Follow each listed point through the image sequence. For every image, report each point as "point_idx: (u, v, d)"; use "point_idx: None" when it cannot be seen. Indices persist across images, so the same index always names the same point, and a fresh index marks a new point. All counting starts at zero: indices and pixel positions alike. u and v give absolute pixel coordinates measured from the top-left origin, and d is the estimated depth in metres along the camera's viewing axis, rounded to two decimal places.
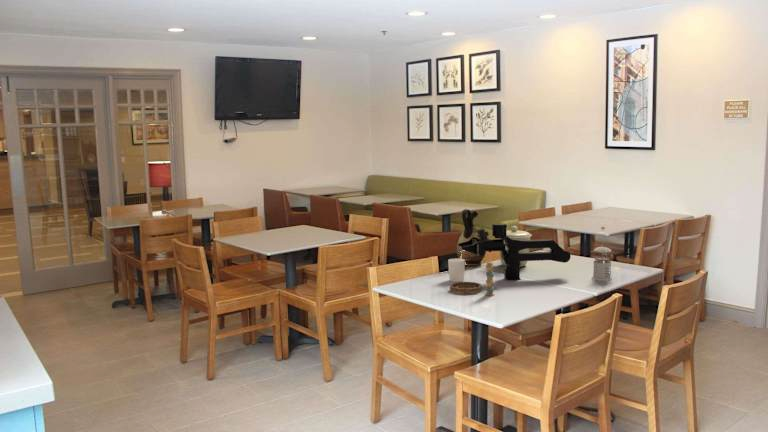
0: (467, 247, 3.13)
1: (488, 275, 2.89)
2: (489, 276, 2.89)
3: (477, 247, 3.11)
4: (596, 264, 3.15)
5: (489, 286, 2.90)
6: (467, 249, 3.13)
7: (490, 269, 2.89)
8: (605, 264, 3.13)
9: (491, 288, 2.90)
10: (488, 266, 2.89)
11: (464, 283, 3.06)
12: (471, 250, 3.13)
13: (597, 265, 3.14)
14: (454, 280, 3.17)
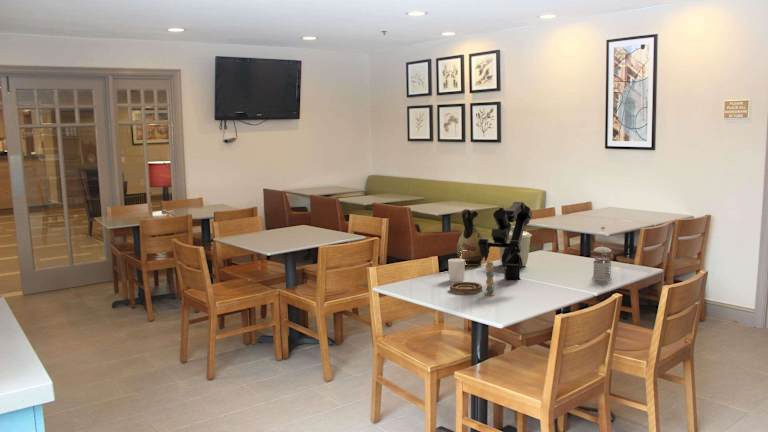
0: (508, 256, 2.96)
1: (488, 275, 2.89)
2: (489, 276, 2.89)
3: (515, 248, 2.97)
4: (596, 264, 3.15)
5: (489, 286, 2.90)
6: (509, 257, 2.96)
7: (490, 269, 2.89)
8: (605, 264, 3.13)
9: (491, 288, 2.90)
10: (488, 266, 2.89)
11: (464, 283, 3.06)
12: (511, 255, 2.97)
13: (597, 265, 3.14)
14: (454, 280, 3.17)
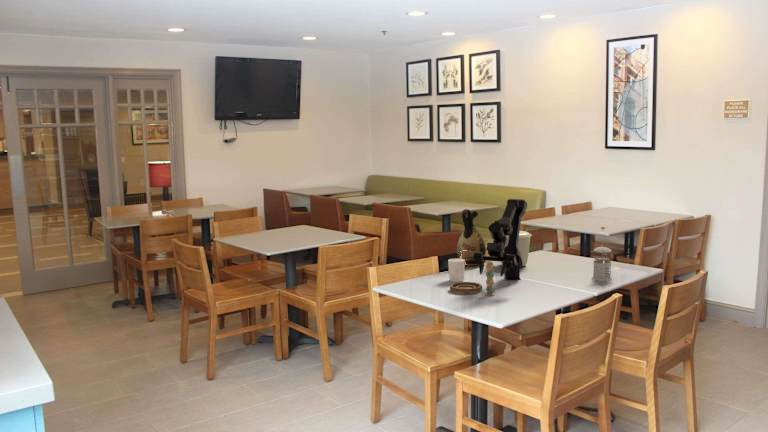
0: (504, 270, 2.90)
1: (488, 275, 2.89)
2: (489, 276, 2.89)
3: (511, 262, 2.91)
4: (596, 264, 3.15)
5: (489, 286, 2.90)
6: (504, 271, 2.91)
7: (490, 269, 2.89)
8: (605, 264, 3.13)
9: (491, 288, 2.90)
10: (488, 266, 2.89)
11: (464, 283, 3.06)
12: (506, 269, 2.92)
13: (597, 265, 3.14)
14: (454, 280, 3.17)
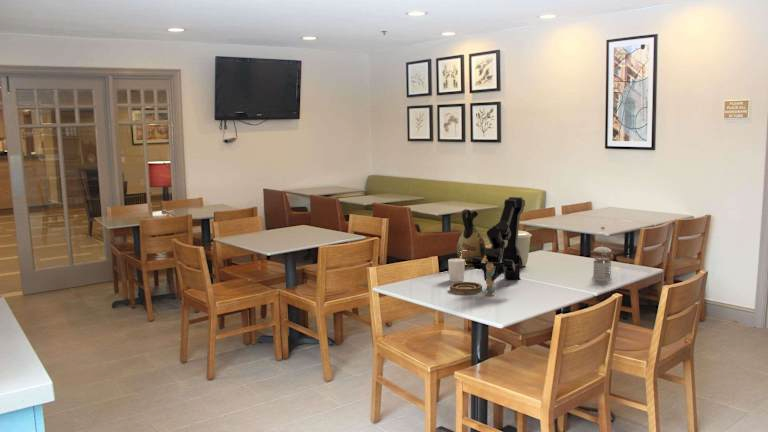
0: (496, 275, 2.90)
1: (488, 275, 2.89)
2: (489, 276, 2.89)
3: (503, 267, 2.91)
4: (596, 264, 3.15)
5: (489, 286, 2.90)
6: (496, 276, 2.90)
7: (490, 269, 2.89)
8: (605, 264, 3.13)
9: (491, 288, 2.90)
10: (488, 266, 2.89)
11: (464, 283, 3.06)
12: (498, 274, 2.91)
13: (597, 265, 3.14)
14: (454, 280, 3.17)
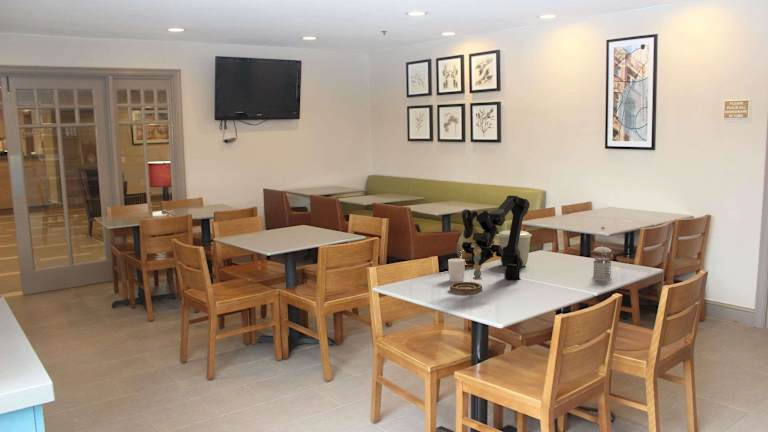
0: (483, 259, 2.92)
1: (475, 259, 2.92)
2: (476, 260, 2.92)
3: (491, 252, 2.92)
4: (596, 264, 3.15)
5: (476, 270, 2.93)
6: (483, 261, 2.93)
7: (477, 253, 2.92)
8: (605, 264, 3.13)
9: (478, 272, 2.93)
10: (475, 250, 2.92)
11: (464, 283, 3.06)
12: (486, 258, 2.93)
13: (597, 265, 3.14)
14: (454, 280, 3.17)
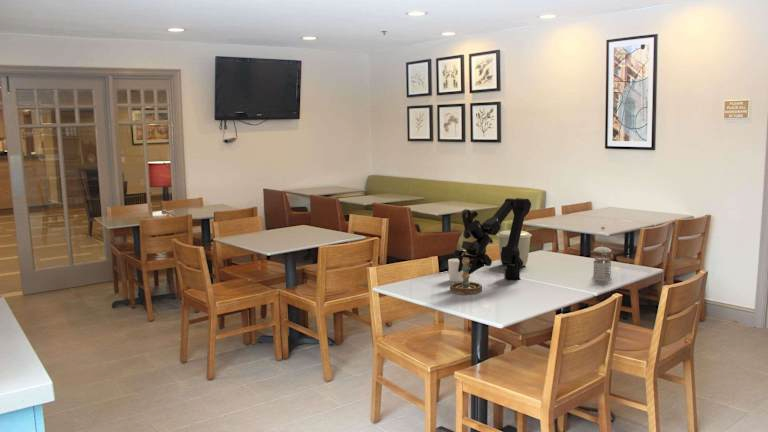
0: (473, 268, 2.96)
1: (463, 269, 2.98)
2: (464, 270, 2.98)
3: (481, 261, 2.96)
4: (596, 264, 3.15)
5: (464, 280, 2.99)
6: (474, 269, 2.97)
7: (465, 263, 2.98)
8: (605, 264, 3.13)
9: (466, 282, 2.98)
10: (463, 260, 2.98)
11: None
12: (477, 267, 2.97)
13: (597, 265, 3.14)
14: (454, 280, 3.17)
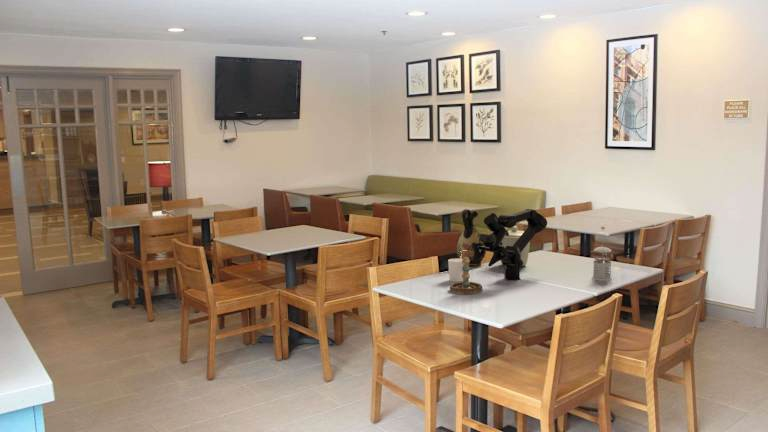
0: (493, 261, 3.02)
1: (463, 269, 2.98)
2: (464, 270, 2.98)
3: (501, 253, 3.02)
4: (596, 264, 3.15)
5: (464, 280, 2.99)
6: (493, 262, 3.03)
7: (465, 264, 2.97)
8: (605, 264, 3.13)
9: (466, 282, 2.98)
10: (463, 261, 2.98)
11: None
12: (496, 260, 3.03)
13: (597, 265, 3.14)
14: (454, 280, 3.17)
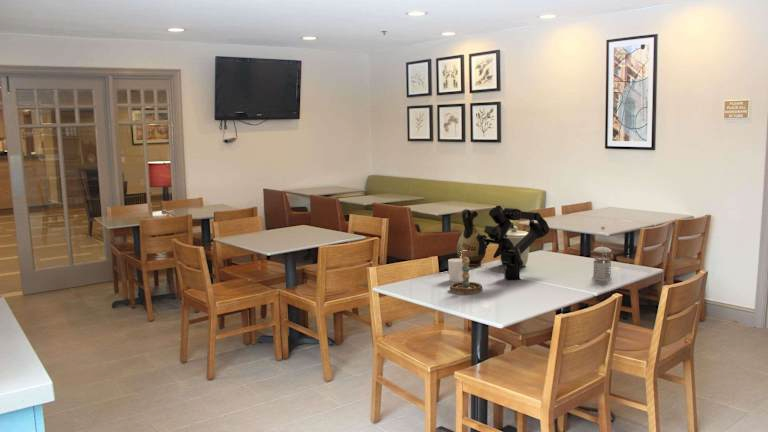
0: (498, 252, 3.04)
1: (463, 269, 2.98)
2: (464, 270, 2.98)
3: (506, 245, 3.04)
4: (596, 264, 3.15)
5: (464, 280, 2.99)
6: (498, 254, 3.04)
7: (465, 264, 2.97)
8: (605, 264, 3.13)
9: (466, 282, 2.98)
10: (463, 260, 2.98)
11: None
12: (501, 251, 3.05)
13: (597, 265, 3.14)
14: (454, 280, 3.17)
